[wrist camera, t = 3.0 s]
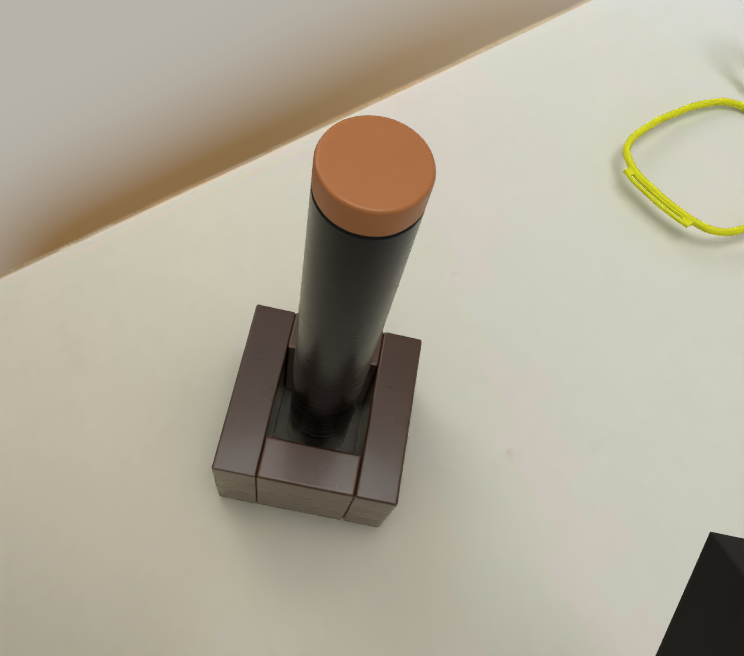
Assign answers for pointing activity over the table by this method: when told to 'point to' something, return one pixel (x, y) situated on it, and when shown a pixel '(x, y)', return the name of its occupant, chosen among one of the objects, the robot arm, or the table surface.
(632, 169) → the glasses
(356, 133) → the black orange-capped rod
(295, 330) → the pen holder
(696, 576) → the robot arm
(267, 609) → the table surface
